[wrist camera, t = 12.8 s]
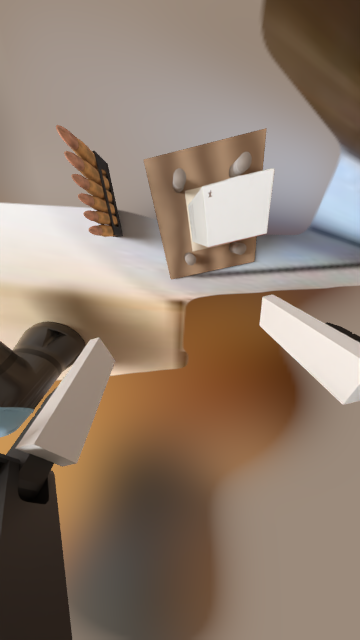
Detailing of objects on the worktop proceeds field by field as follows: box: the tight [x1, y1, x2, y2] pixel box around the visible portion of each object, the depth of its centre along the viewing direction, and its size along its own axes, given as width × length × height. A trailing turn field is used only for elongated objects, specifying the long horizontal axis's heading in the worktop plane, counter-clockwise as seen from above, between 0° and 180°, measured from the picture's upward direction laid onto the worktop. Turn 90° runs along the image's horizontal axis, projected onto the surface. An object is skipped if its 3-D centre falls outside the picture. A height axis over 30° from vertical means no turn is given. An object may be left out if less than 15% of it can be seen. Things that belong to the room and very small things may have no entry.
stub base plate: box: [144, 129, 266, 279], centre depth 27 cm, size 20×20×6 cm
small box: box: [188, 168, 275, 248], centre depth 22 cm, size 8×6×13 cm
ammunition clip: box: [56, 125, 123, 237], centre depth 21 cm, size 11×2×12 cm, turn 2°
